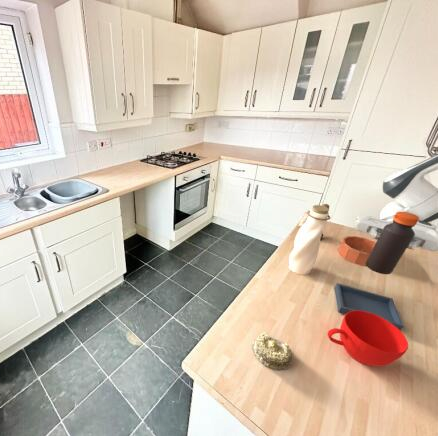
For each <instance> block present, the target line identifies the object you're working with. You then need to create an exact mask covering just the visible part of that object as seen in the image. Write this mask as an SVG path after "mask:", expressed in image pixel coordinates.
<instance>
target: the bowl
mask: <svg viewBox="0 0 438 436" xmlns="http://www.w3.org/2000/svg"><path fill="white" fill-rule="evenodd" d="M376 242H377V241H374V240H371V239H368V238H367V237H361V236H356V235H346V236H344V237H343V238H342V239H341V242H340V243H339V245H338V248H337V252H338V255H339V256H340V257H342V259H344V260H346V261H348V262H350V263H353V264H355V265H359V266H362V267H367V266H366V261H367V259H368V257H369V255H370V253H371V251H372V249H373V247H374V246H375V244H376Z"/></svg>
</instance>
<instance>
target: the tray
mask: <svg viewBox="0 0 438 436" xmlns="http://www.w3.org/2000/svg"><path fill="white" fill-rule="evenodd" d="M334 294H335V299H336V306H337V307H336V308H337V312H338V313H339V314H342V315H344V316H345V315H346V314H347V313H348V312H350V311H354V310H360V311H366V312H369V313H372V314H375V315H377V316H380V317H382V318H383V319H385V320H387V321H388V322H390V323H391V324H393V325H394V326H395V327H397V328H398V329H399V330H400V331H401V332H402V330H403V329H404V328H405V325H404V323H403V320H402V318H401V315H400V313H399V311H398V308H397V306H396V304H395V301H394V299H393V298H392V297H389V296H386V295H381V294H378V293H374V292H370V291H367V290H363V289H360V288H356V287H352V286H349V285H345V284H341V283H339V282H336V284H335V286H334Z"/></svg>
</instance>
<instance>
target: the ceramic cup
mask: <svg viewBox="0 0 438 436" xmlns="http://www.w3.org/2000/svg"><path fill="white" fill-rule="evenodd" d="M335 334H339V337H340V340H339V339H336V338H333V335H335ZM327 337H328V339H329V340H330V341H331V342H332V343H334V344H336V345H339V346H343V348H344V350H345V351H346V353H347V354H348V355H349V356H350V357H351V358H352V359H353V360H355V361H356V362H358V363H360V364H363V365H366V366H372V367H383V366H388V365H391V364H394V363H395V362H396V361H398V360H399V359H400V358H402V357H403V355H405V354H406V353H407V351H408V349H409V343H408V342H409V341H408V340H407V338H406V336H405V335H404V333H403V332H402V331H400V330H399V329H398V328H397V327H395V326H394V325H393V324H391V323H390V322H388V321H387V320H385V319H383V318H382V317H380V316H377V315H375V314H372V313H369V312H366V311H360V310H354V311H350V312H348V313H347V314H346V315H345V314H344V316H343V318H342V321H341V324H340V328H338V327H337V328H336V327H335V328H330V329H329V330H328V331H327Z"/></svg>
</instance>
